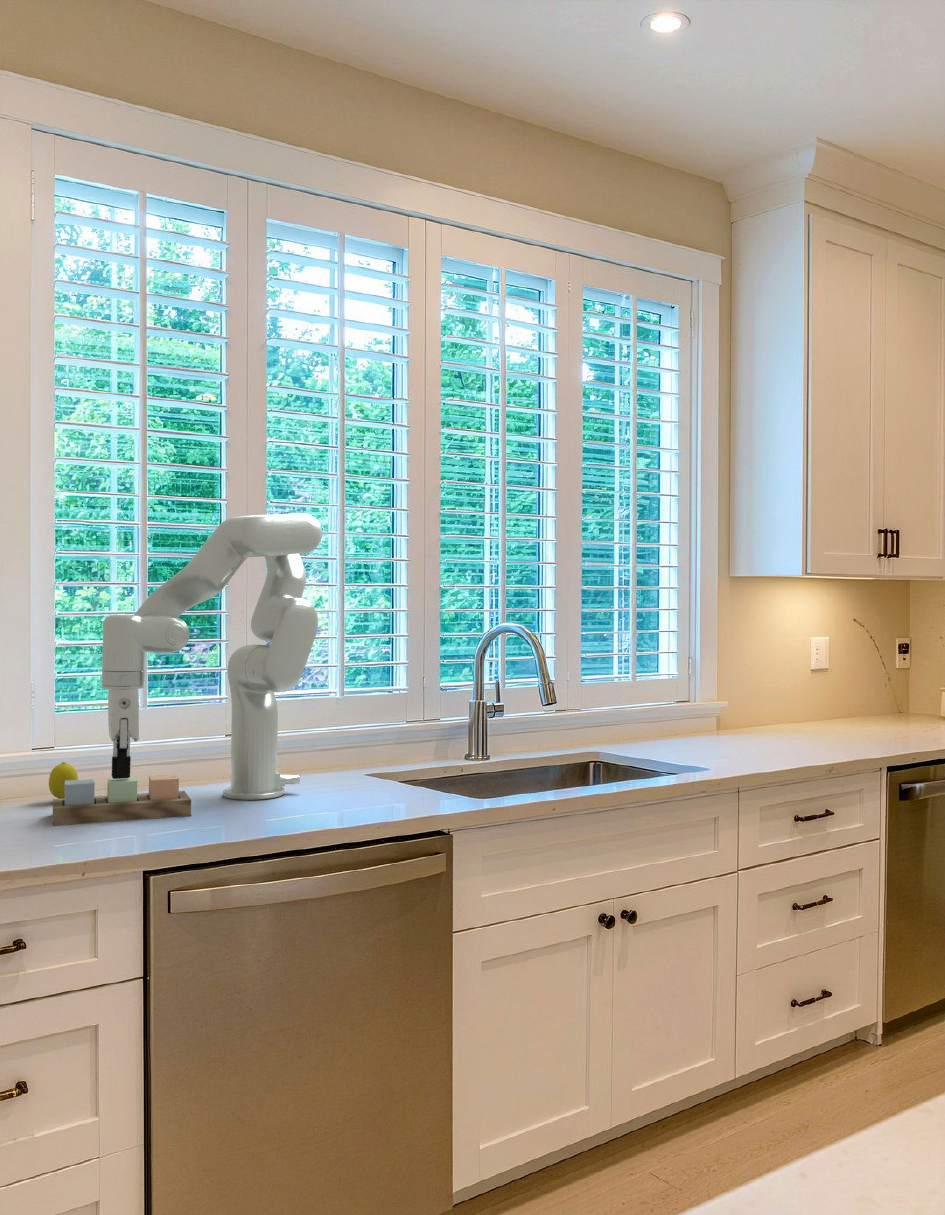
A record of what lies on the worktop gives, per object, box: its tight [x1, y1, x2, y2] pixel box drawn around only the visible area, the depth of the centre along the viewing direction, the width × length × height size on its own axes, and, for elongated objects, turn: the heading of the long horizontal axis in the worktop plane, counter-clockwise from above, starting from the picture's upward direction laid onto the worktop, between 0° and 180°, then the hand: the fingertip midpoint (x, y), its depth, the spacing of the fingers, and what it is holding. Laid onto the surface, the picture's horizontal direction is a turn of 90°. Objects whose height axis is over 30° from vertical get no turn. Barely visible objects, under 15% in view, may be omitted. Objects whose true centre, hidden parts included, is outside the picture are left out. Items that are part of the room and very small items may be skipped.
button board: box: [52, 790, 192, 826], centre depth 186 cm, size 24×10×3 cm, turn 113°
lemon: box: [48, 761, 79, 799], centre depth 198 cm, size 6×6×8 cm
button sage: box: [106, 776, 138, 803], centre depth 186 cm, size 5×5×5 cm
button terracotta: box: [148, 774, 180, 800], centre depth 189 cm, size 5×5×5 cm
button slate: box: [65, 778, 95, 806], centre depth 183 cm, size 5×5×5 cm
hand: (120, 777), depth 185 cm, fingers closed
